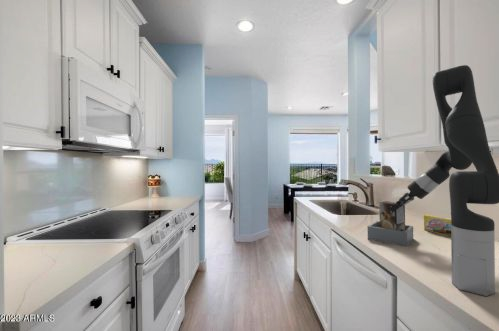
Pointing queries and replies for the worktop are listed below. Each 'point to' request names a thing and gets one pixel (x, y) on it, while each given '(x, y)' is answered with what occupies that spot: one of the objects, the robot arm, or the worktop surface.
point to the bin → (390, 234)
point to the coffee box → (391, 216)
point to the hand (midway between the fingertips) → (393, 209)
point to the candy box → (437, 225)
